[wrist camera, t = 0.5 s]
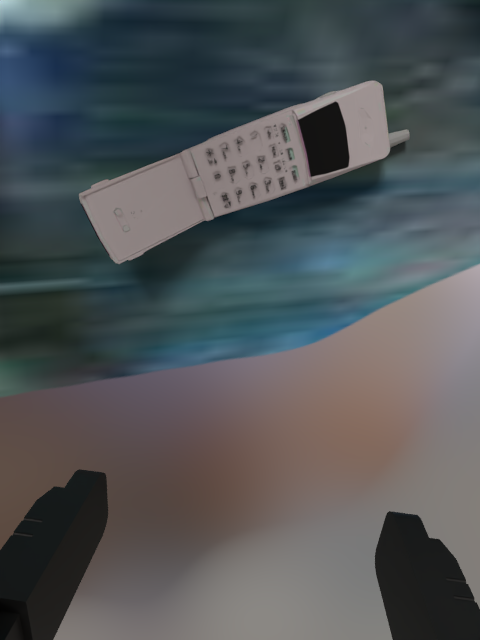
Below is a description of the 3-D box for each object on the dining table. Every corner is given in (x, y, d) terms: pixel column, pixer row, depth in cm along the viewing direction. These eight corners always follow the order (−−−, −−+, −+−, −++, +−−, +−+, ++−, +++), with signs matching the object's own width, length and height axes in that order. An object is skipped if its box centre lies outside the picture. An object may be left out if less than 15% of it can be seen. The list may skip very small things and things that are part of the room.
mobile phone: (72, 193, 27) (433, 57, 24) (96, 178, 32) (396, 64, 29) (113, 269, 30) (440, 156, 27) (129, 244, 35) (405, 147, 32)
